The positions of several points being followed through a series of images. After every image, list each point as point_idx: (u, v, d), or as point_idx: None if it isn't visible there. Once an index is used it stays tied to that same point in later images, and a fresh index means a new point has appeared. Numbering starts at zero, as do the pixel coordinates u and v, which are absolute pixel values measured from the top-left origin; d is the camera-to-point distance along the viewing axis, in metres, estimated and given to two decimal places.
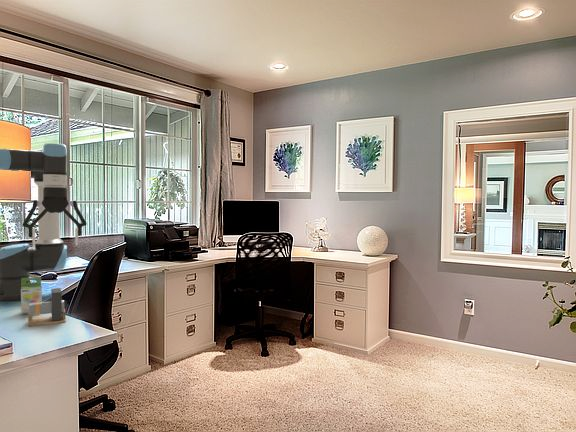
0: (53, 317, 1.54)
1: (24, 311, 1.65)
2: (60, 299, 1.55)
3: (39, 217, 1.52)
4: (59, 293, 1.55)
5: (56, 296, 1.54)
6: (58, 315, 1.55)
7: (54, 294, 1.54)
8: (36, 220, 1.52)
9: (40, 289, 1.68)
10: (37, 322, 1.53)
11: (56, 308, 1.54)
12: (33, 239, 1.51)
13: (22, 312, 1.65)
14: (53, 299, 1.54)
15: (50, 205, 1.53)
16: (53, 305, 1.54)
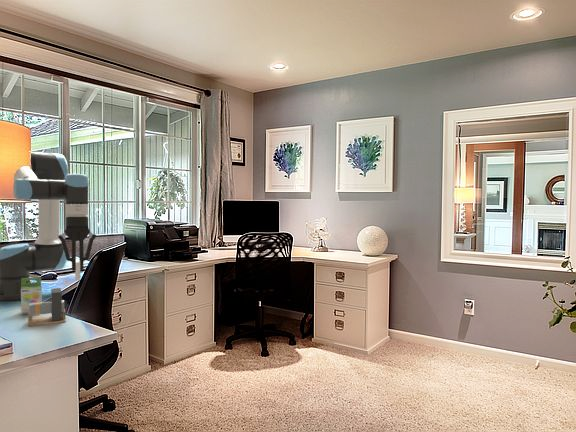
0: (53, 317, 1.54)
1: (24, 311, 1.65)
2: (60, 299, 1.55)
3: (74, 249, 1.59)
4: (59, 293, 1.55)
5: (56, 296, 1.54)
6: (58, 315, 1.55)
7: (54, 294, 1.54)
8: (73, 253, 1.59)
9: (40, 289, 1.68)
10: (37, 322, 1.53)
11: (56, 308, 1.54)
12: (76, 272, 1.59)
13: (22, 312, 1.65)
14: (53, 299, 1.54)
15: (73, 234, 1.58)
16: (53, 305, 1.54)
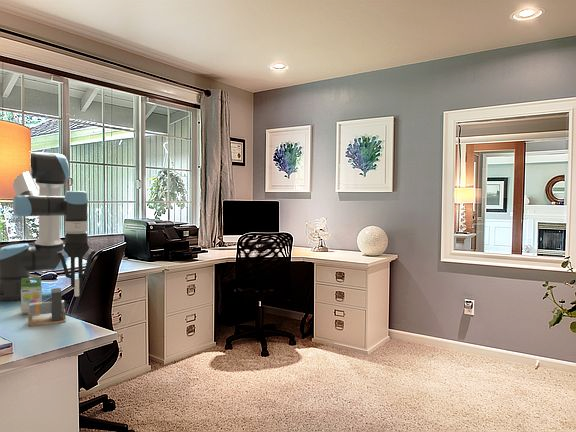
0: (53, 317, 1.54)
1: (24, 311, 1.65)
2: (60, 299, 1.55)
3: (73, 266, 1.59)
4: (59, 293, 1.55)
5: (56, 296, 1.54)
6: (58, 315, 1.55)
7: (54, 294, 1.54)
8: (73, 269, 1.59)
9: (40, 289, 1.68)
10: (37, 322, 1.53)
11: (56, 308, 1.54)
12: (75, 289, 1.60)
13: (22, 312, 1.65)
14: (53, 299, 1.54)
15: (72, 251, 1.58)
16: (53, 305, 1.54)
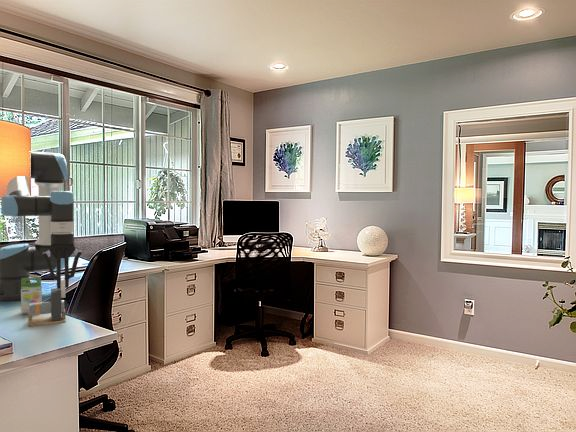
0: (53, 317, 1.54)
1: (24, 311, 1.65)
2: (60, 299, 1.55)
3: (58, 267, 1.57)
4: (59, 293, 1.55)
5: (56, 296, 1.54)
6: (58, 315, 1.55)
7: (54, 294, 1.54)
8: (58, 270, 1.57)
9: (40, 289, 1.68)
10: (37, 322, 1.53)
11: (56, 308, 1.54)
12: (61, 290, 1.58)
13: (22, 312, 1.65)
14: (53, 299, 1.54)
15: (58, 252, 1.56)
16: (53, 305, 1.54)
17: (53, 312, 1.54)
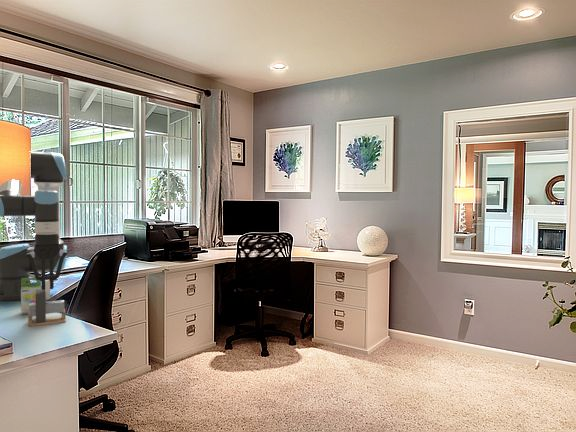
0: (37, 319, 1.52)
1: (24, 311, 1.65)
2: (44, 301, 1.52)
3: (43, 267, 1.54)
4: (43, 294, 1.52)
5: (40, 297, 1.52)
6: (42, 317, 1.52)
7: (38, 295, 1.51)
8: (43, 271, 1.54)
9: (40, 289, 1.68)
10: (37, 322, 1.53)
11: (40, 310, 1.52)
12: (46, 291, 1.55)
13: (22, 312, 1.65)
14: (37, 301, 1.51)
15: (42, 252, 1.53)
16: (37, 307, 1.51)
17: (37, 314, 1.52)
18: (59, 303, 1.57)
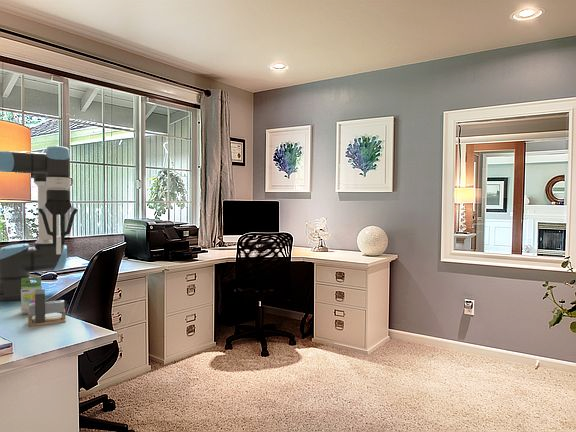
0: (36, 319, 1.52)
1: (24, 311, 1.65)
2: (43, 301, 1.52)
3: (54, 223, 1.56)
4: (42, 294, 1.52)
5: (39, 298, 1.52)
6: (41, 317, 1.52)
7: (37, 295, 1.51)
8: (54, 227, 1.56)
9: (40, 289, 1.68)
10: (37, 322, 1.53)
11: (39, 310, 1.52)
12: (57, 247, 1.57)
13: (22, 312, 1.65)
14: (36, 301, 1.51)
15: (54, 208, 1.55)
16: (36, 307, 1.51)
17: (37, 314, 1.52)
18: (59, 303, 1.57)
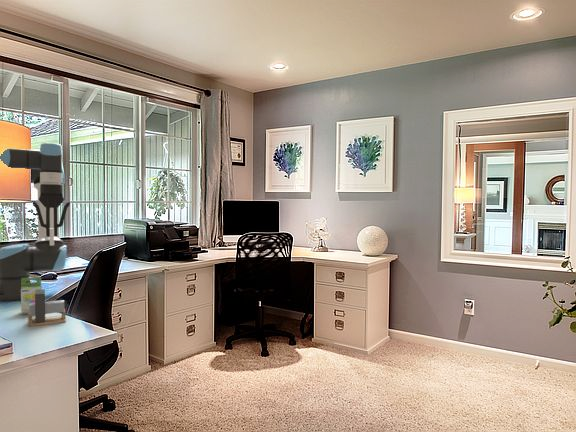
0: (36, 319, 1.52)
1: (24, 311, 1.65)
2: (43, 301, 1.52)
3: (48, 215, 1.65)
4: (42, 294, 1.52)
5: (39, 298, 1.52)
6: (41, 317, 1.52)
7: (37, 295, 1.51)
8: (48, 219, 1.65)
9: (40, 289, 1.68)
10: (37, 322, 1.53)
11: (39, 310, 1.52)
12: (50, 238, 1.65)
13: (22, 312, 1.65)
14: (36, 301, 1.51)
15: (47, 201, 1.64)
16: (36, 307, 1.51)
17: (37, 314, 1.52)
18: (59, 303, 1.57)
